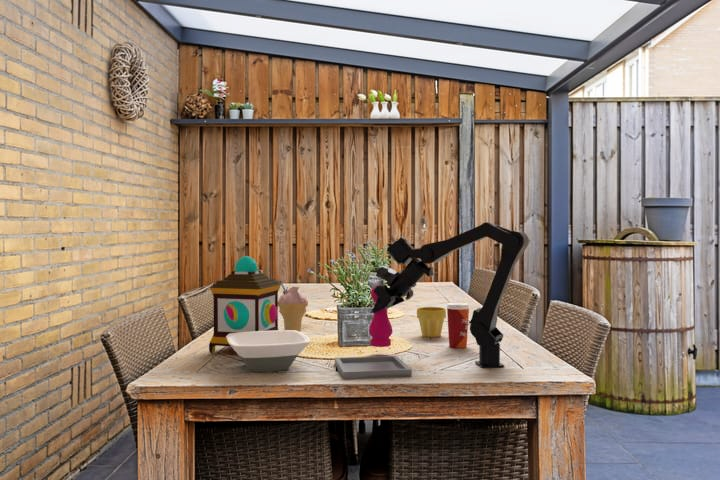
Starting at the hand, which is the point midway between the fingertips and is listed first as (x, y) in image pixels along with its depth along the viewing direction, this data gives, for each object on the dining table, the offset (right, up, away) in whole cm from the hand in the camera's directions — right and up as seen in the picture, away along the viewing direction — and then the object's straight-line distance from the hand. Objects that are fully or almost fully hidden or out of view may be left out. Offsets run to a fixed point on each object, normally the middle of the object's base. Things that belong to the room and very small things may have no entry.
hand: (376, 311), depth 195 cm
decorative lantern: (-41, -13, +6) cm, 43 cm away
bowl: (-31, -14, -18) cm, 38 cm away
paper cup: (+27, -13, +12) cm, 32 cm away
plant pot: (+20, -13, +32) cm, 40 cm away
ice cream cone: (-29, -13, +31) cm, 44 cm away
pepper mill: (+1, -11, 0) cm, 11 cm away
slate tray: (-2, -14, -21) cm, 25 cm away
